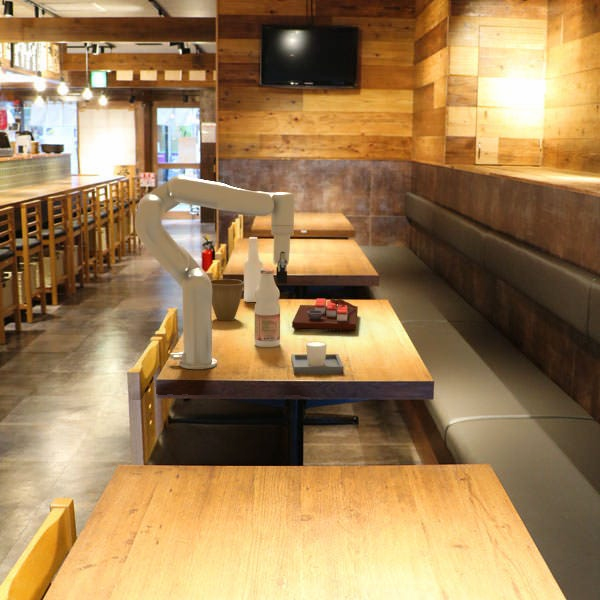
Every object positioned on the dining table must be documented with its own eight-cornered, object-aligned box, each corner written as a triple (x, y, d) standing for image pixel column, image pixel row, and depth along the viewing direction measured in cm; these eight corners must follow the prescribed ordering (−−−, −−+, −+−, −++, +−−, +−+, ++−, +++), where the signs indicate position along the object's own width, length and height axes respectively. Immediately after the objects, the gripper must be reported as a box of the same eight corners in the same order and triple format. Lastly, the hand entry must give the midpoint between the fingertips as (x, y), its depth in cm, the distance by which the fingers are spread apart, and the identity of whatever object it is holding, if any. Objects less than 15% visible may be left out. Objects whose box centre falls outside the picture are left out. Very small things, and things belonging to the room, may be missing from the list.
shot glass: (314, 360, 282) (314, 340, 280) (330, 363, 277) (331, 343, 276) (301, 364, 276) (301, 343, 275) (318, 368, 272) (318, 347, 271)
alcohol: (265, 300, 392) (265, 236, 386) (260, 303, 383) (259, 238, 377) (247, 299, 394) (246, 236, 388) (241, 302, 385) (241, 238, 379)
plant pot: (217, 324, 340) (217, 285, 337) (202, 317, 353) (202, 280, 350) (249, 320, 348) (249, 282, 345) (234, 314, 360) (234, 277, 357)
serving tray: (294, 374, 269) (294, 367, 268) (291, 361, 284) (291, 354, 284) (343, 373, 270) (343, 366, 269) (337, 361, 285) (338, 353, 285)
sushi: (357, 316, 359) (358, 289, 357) (355, 335, 325) (355, 305, 322) (300, 315, 361) (300, 287, 359) (292, 333, 327) (292, 303, 325)
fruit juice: (249, 344, 307) (248, 269, 302) (266, 340, 314) (266, 266, 309) (267, 349, 301) (267, 272, 295) (285, 344, 308) (285, 269, 302)
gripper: (270, 227, 285) (269, 276, 288) (271, 232, 268) (271, 285, 271) (292, 227, 285) (291, 276, 288) (295, 233, 268) (294, 285, 271)
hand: (281, 280), depth 280 cm, fingers open, 9 cm apart
